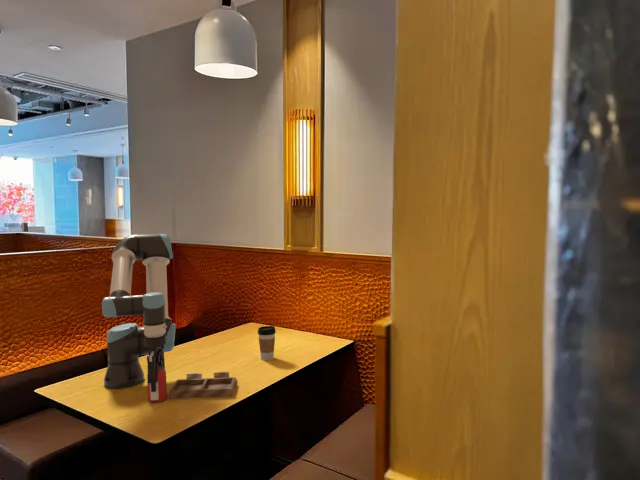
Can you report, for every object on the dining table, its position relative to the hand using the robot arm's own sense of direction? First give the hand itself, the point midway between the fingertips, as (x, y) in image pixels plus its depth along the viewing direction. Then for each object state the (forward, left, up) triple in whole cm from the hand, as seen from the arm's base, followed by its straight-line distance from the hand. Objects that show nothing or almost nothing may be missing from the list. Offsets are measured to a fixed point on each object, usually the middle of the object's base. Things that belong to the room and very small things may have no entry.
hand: (157, 395), depth 167 cm
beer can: (0, 0, -2) cm, 2 cm away
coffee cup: (+39, +42, -2) cm, 57 cm away
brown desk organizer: (+16, +8, -2) cm, 18 cm away
